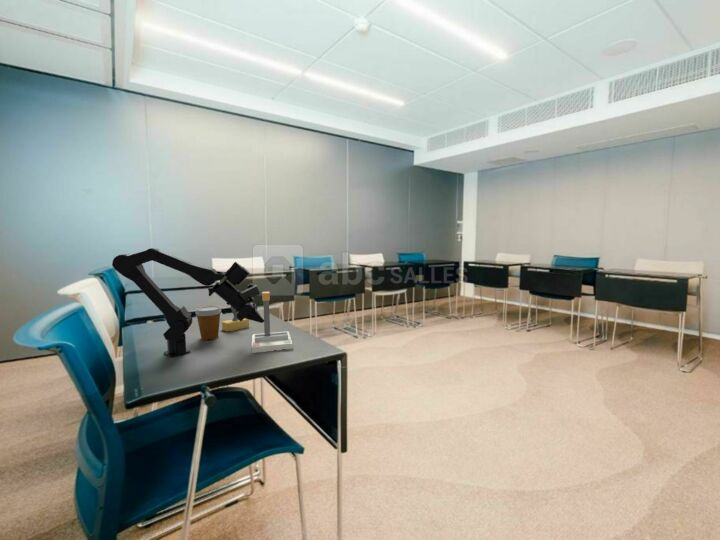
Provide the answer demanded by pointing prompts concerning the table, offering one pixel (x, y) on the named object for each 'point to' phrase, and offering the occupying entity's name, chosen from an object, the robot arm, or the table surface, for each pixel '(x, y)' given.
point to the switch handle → (266, 312)
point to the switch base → (271, 342)
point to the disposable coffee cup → (208, 321)
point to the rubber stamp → (235, 323)
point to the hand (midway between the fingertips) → (263, 321)
